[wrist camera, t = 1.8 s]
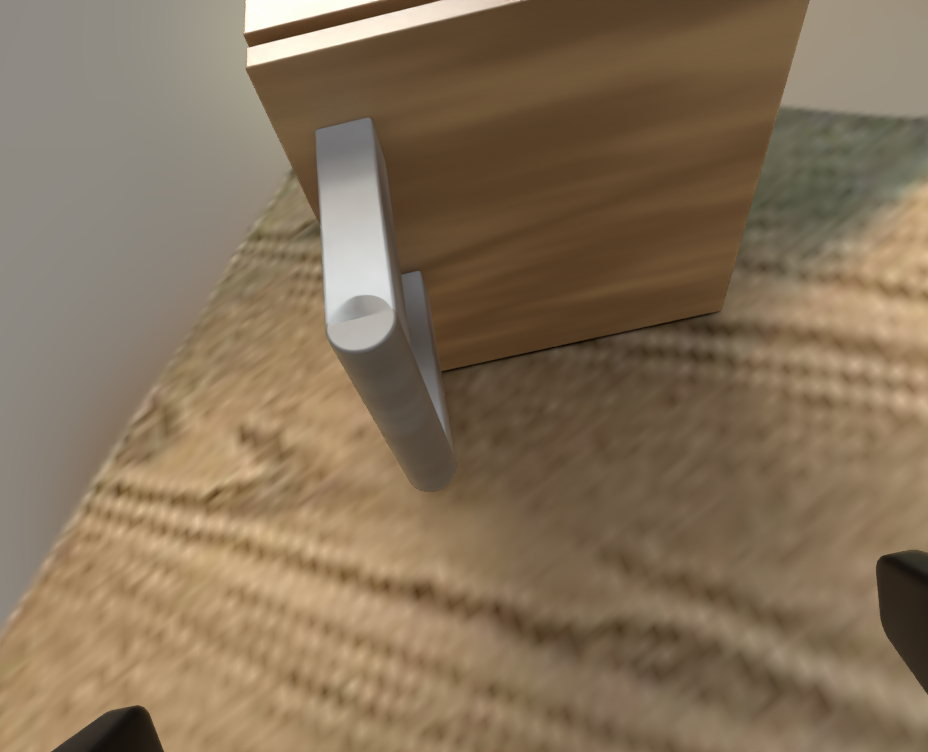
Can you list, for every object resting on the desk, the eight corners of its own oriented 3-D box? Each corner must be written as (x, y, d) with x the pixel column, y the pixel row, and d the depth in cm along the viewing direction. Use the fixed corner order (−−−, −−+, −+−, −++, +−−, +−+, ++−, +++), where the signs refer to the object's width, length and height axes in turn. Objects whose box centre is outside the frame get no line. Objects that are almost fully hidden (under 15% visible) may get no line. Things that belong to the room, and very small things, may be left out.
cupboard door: (796, 473, 21) (1028, 132, 10) (413, 552, 22) (235, 311, 11) (714, 294, 25) (815, -93, 14) (391, 364, 26) (245, 47, 15)
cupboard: (711, 291, 26) (812, -106, 14) (392, 361, 26) (242, 34, 15) (648, 155, 30) (687, -235, 19) (375, 217, 31) (249, -123, 19)
